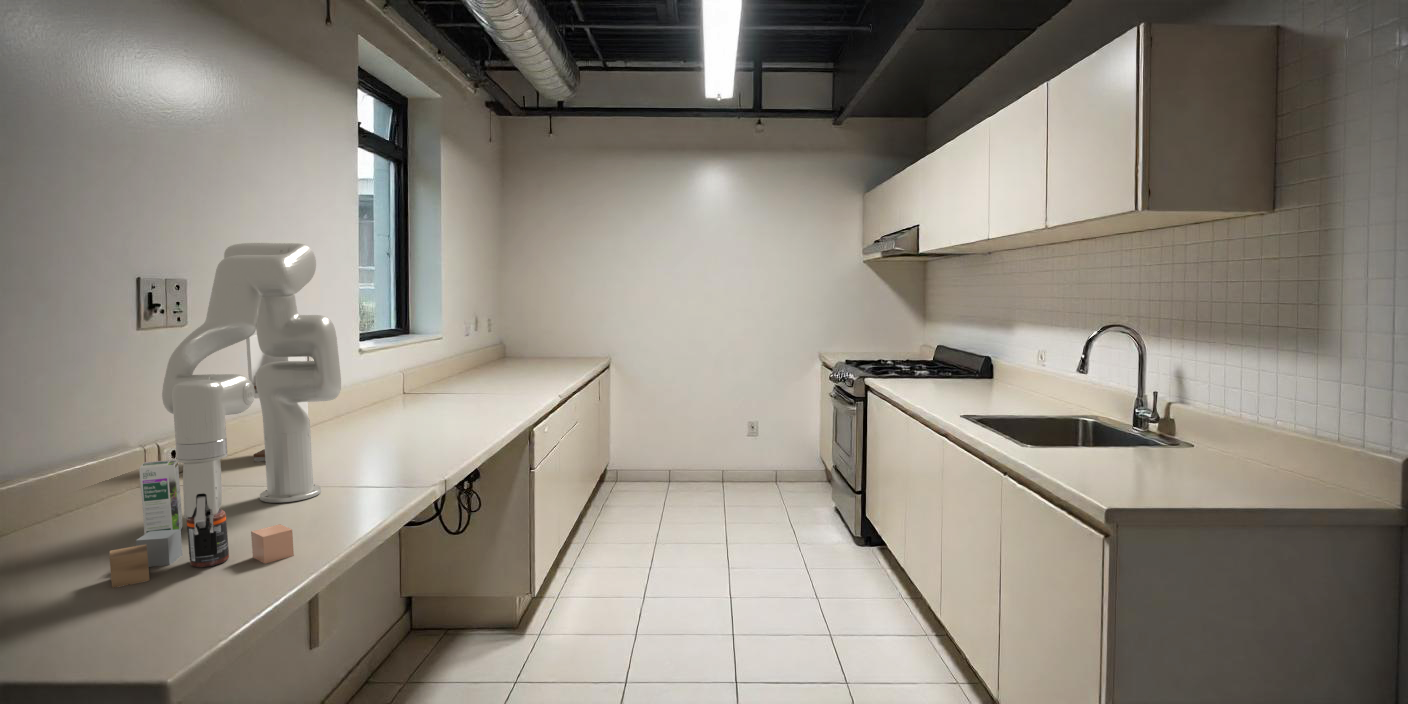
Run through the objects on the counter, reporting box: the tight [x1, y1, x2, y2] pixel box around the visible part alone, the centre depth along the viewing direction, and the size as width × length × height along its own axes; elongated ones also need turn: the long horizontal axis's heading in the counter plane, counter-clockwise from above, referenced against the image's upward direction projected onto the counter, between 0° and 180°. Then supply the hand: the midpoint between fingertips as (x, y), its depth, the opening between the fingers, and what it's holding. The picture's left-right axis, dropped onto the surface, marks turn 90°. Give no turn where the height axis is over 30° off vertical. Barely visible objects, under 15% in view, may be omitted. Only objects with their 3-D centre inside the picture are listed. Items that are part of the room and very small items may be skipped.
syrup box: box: [138, 458, 183, 535], centre depth 151 cm, size 6×6×14 cm
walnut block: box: [109, 544, 150, 589], centre depth 128 cm, size 5×5×5 cm
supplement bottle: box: [186, 499, 230, 568], centre depth 136 cm, size 6×6×11 cm
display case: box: [245, 334, 309, 463], centre depth 217 cm, size 11×11×35 cm
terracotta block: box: [250, 524, 295, 565], centre depth 139 cm, size 5×5×5 cm
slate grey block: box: [135, 529, 183, 568], centre depth 137 cm, size 5×5×5 cm
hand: (208, 548), depth 136 cm, fingers closed on supplement bottle, 6 cm apart
